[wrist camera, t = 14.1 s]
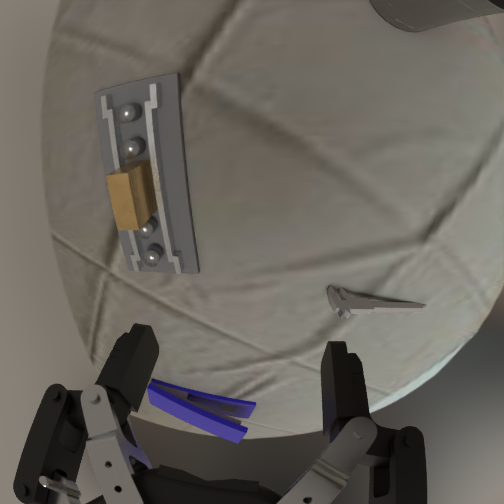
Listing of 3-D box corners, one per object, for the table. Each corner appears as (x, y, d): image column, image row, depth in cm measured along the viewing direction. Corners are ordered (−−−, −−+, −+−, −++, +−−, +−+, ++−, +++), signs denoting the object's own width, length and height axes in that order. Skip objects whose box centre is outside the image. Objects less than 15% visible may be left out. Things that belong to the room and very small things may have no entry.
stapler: (248, 415, 69) (245, 444, 60) (153, 393, 68) (144, 421, 59) (257, 399, 63) (254, 433, 54) (150, 375, 61) (139, 407, 53)
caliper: (326, 288, 41) (331, 317, 36) (328, 283, 41) (334, 312, 35) (422, 307, 42) (434, 332, 37) (425, 303, 42) (437, 328, 36)
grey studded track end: (119, 187, 34) (110, 194, 31) (170, 183, 33) (162, 190, 31) (138, 265, 41) (132, 275, 38) (184, 267, 40) (179, 278, 38)
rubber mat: (97, 92, 27) (94, 92, 26) (179, 73, 26) (177, 73, 25) (131, 267, 42) (129, 270, 41) (199, 270, 41) (198, 273, 40)
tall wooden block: (138, 209, 35) (118, 230, 30) (130, 161, 32) (105, 175, 27) (157, 209, 35) (138, 230, 30) (149, 159, 31) (127, 172, 26)
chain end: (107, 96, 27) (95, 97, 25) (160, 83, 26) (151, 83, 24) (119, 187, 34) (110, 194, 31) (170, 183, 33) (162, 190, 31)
